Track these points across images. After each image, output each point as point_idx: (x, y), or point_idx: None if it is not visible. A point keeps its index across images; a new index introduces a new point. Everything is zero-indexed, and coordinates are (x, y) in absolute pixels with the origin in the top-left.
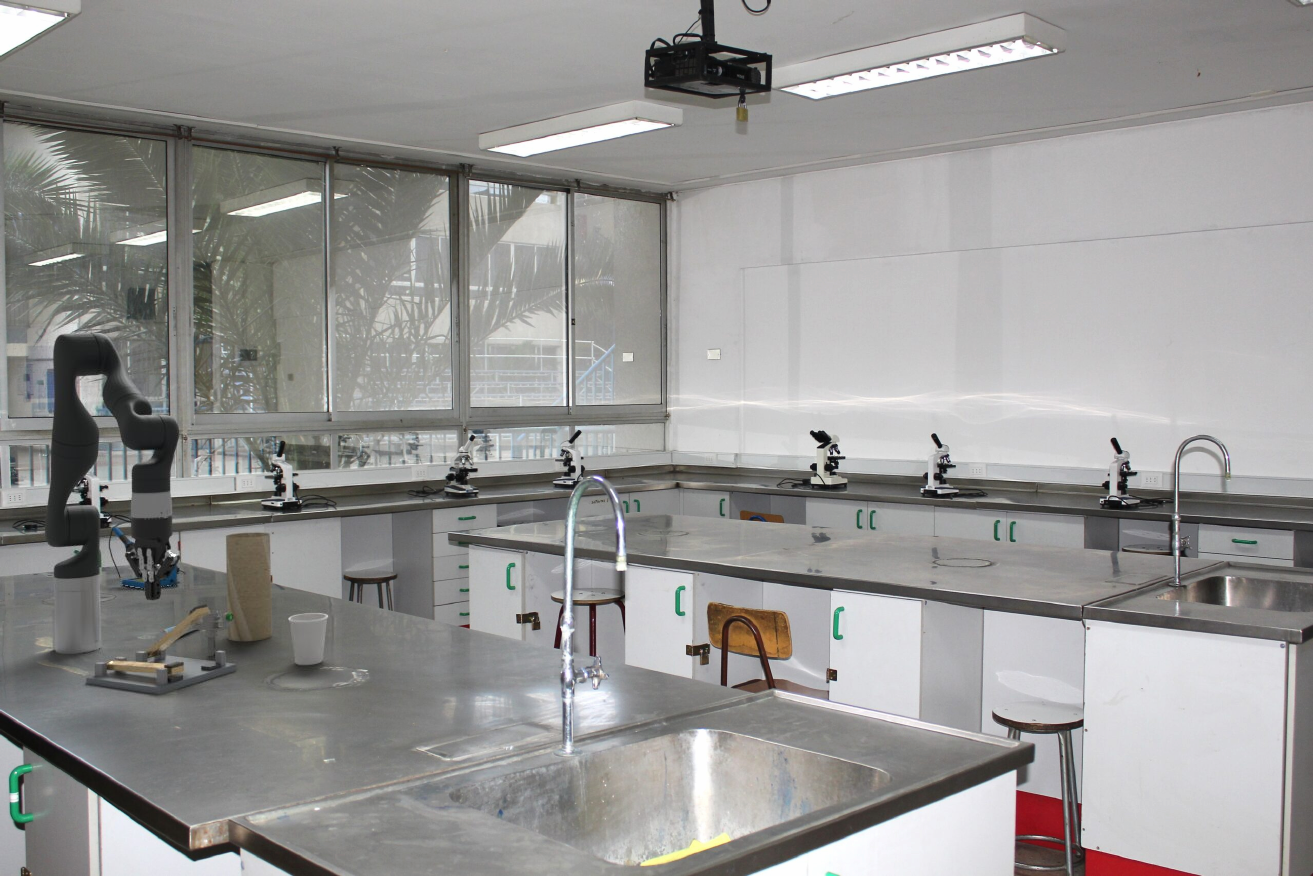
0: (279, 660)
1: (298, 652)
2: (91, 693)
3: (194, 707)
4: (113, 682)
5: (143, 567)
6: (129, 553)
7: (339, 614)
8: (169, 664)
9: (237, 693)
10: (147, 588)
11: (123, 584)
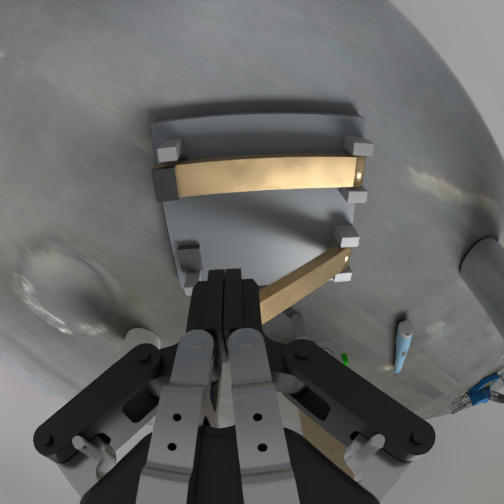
0: (183, 333)
1: (134, 340)
2: (299, 73)
3: (45, 114)
4: (286, 113)
5: (238, 397)
6: (405, 455)
7: (293, 425)
8: (167, 176)
9: (62, 198)
10: (228, 302)
11: (497, 375)
